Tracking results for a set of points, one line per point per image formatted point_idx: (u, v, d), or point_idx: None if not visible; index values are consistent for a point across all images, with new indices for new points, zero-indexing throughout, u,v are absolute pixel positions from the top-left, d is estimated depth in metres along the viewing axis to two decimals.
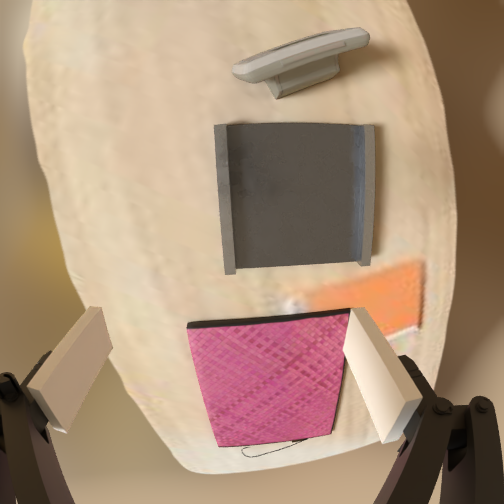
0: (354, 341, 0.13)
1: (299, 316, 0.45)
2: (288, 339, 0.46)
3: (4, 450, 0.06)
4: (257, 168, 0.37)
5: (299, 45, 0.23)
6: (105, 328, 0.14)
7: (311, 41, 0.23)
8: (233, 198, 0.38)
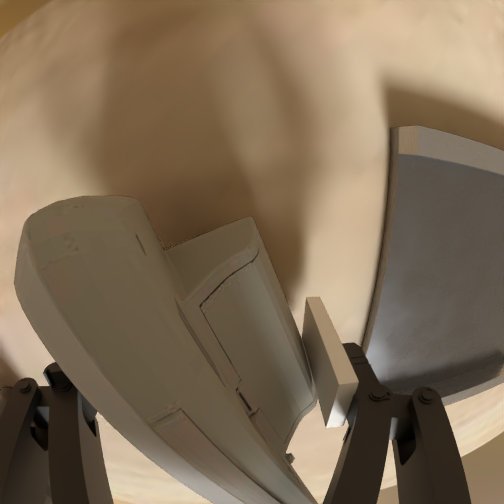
0: (308, 328, 0.14)
1: None
2: None
3: (43, 445, 0.07)
4: (428, 355, 0.18)
5: None
6: None
7: (199, 491, 0.05)
8: (448, 377, 0.19)
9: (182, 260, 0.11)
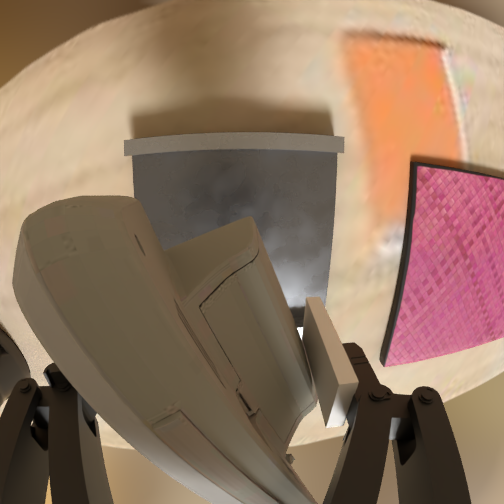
0: (308, 328, 0.14)
1: (407, 238, 0.29)
2: (433, 254, 0.29)
3: (43, 445, 0.07)
4: None
5: None
6: None
7: (198, 493, 0.05)
8: None
9: (182, 260, 0.11)
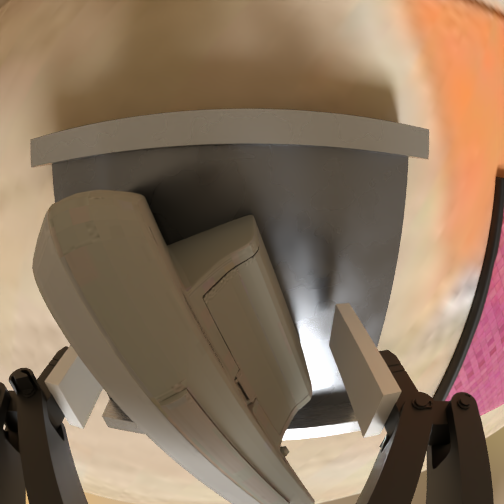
0: (338, 336, 0.13)
1: (483, 289, 0.17)
2: None
3: (16, 448, 0.06)
4: None
5: (220, 492, 0.06)
6: None
7: (197, 476, 0.06)
8: None
9: (185, 255, 0.12)
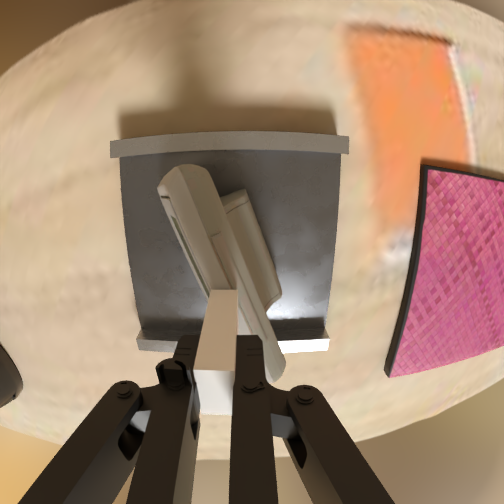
0: None
1: (416, 245, 0.27)
2: (442, 262, 0.28)
3: (127, 452, 0.08)
4: (191, 300, 0.28)
5: None
6: None
7: None
8: None
9: None
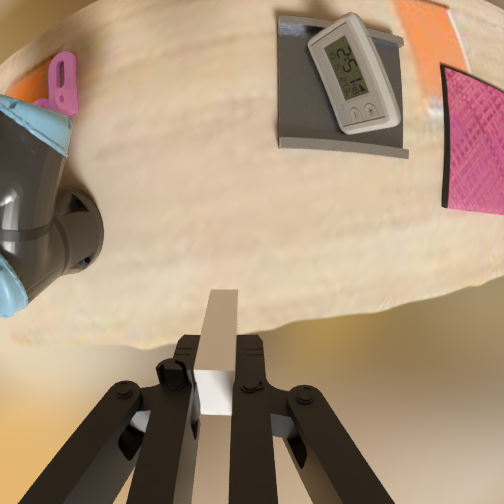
0: None
1: (446, 108, 0.36)
2: (463, 122, 0.37)
3: (127, 452, 0.08)
4: (320, 115, 0.37)
5: (375, 73, 0.26)
6: None
7: (370, 62, 0.26)
8: (345, 140, 0.39)
9: None
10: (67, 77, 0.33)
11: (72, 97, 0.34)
